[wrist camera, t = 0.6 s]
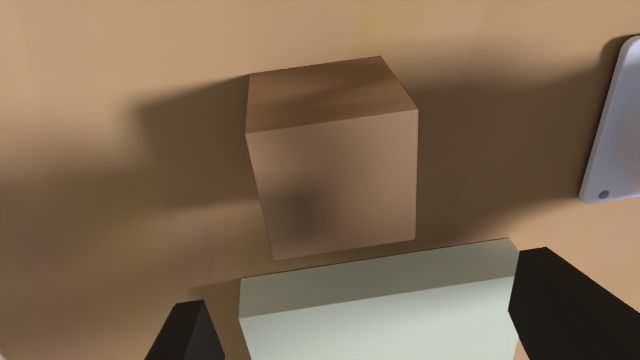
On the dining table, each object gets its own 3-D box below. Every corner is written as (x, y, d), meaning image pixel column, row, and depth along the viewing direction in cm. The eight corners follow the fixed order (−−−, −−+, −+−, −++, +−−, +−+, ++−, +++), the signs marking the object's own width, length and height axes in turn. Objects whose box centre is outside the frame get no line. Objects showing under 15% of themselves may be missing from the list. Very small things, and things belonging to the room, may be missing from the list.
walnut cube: (379, 55, 17) (418, 109, 12) (382, 165, 19) (415, 239, 15) (249, 72, 16) (244, 133, 12) (271, 181, 19) (273, 260, 15)
